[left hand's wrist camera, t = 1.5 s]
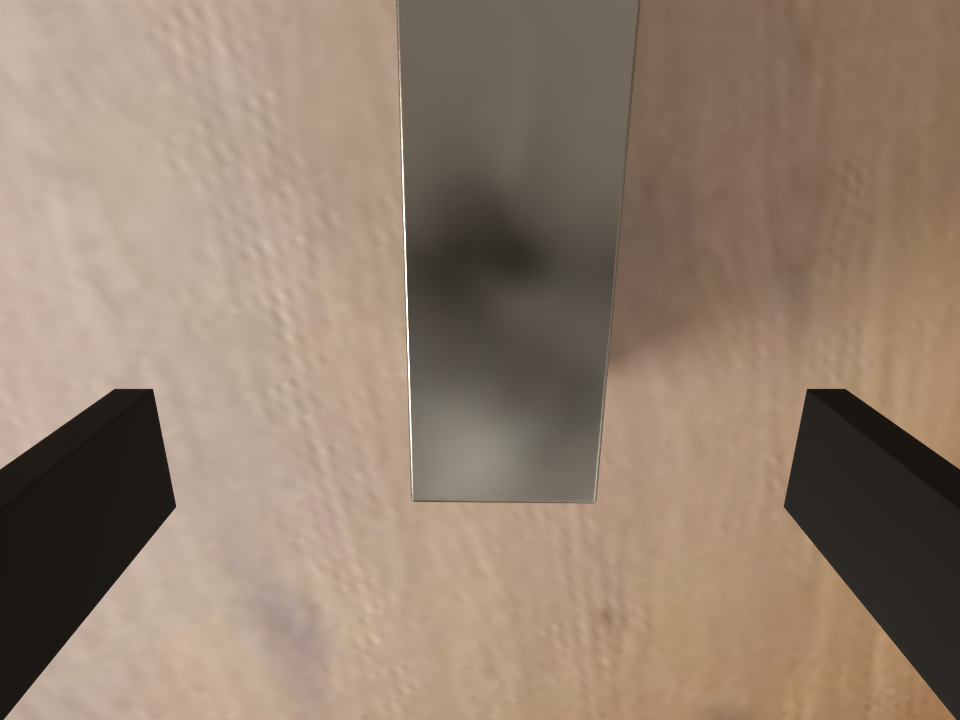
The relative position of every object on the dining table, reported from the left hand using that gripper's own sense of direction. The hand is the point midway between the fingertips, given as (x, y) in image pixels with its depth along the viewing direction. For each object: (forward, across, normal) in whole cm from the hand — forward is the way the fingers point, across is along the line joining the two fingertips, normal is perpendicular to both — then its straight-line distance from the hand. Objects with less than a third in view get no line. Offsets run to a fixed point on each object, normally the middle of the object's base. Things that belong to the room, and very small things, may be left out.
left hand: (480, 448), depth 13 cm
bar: (+13, -1, -9) cm, 16 cm away
